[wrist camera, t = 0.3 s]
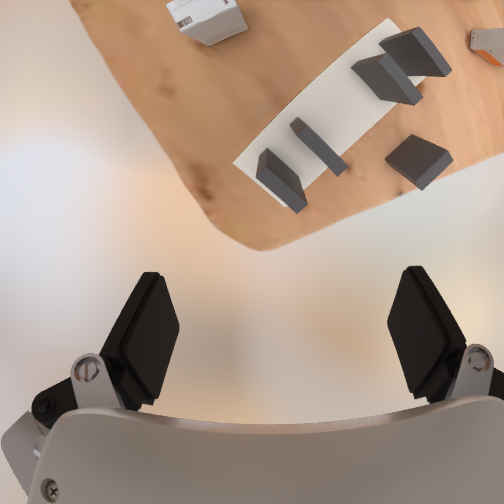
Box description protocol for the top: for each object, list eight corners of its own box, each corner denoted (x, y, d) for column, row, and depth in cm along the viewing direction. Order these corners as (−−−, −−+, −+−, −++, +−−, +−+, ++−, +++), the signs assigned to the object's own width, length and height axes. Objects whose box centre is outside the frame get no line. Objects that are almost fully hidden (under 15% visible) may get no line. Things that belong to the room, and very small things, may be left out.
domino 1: (266, 147, 35) (265, 166, 27) (298, 176, 37) (307, 204, 29) (258, 155, 36) (255, 177, 27) (290, 183, 38) (297, 213, 29)
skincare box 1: (236, 6, 24) (221, -27, 14) (250, 31, 27) (241, 4, 16) (194, 25, 26) (162, 1, 16) (207, 49, 28) (180, 33, 18)
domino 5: (384, 158, 35) (415, 181, 27) (411, 134, 32) (447, 150, 24) (390, 166, 35) (421, 190, 27) (417, 142, 33) (453, 160, 24)
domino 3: (358, 60, 27) (387, 52, 19) (387, 93, 29) (423, 97, 21) (350, 67, 28) (377, 60, 19) (380, 99, 30) (414, 105, 21)
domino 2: (297, 116, 32) (307, 125, 24) (329, 147, 34) (348, 166, 26) (289, 124, 33) (296, 136, 25) (321, 154, 35) (337, 176, 27)
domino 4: (385, 38, 24) (419, 26, 16) (412, 70, 26) (452, 70, 18) (378, 43, 25) (411, 32, 17) (406, 76, 27) (445, 76, 19)
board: (386, 18, 23) (388, 17, 22) (431, 70, 26) (433, 70, 26) (233, 162, 37) (232, 163, 37) (285, 206, 40) (285, 207, 40)
